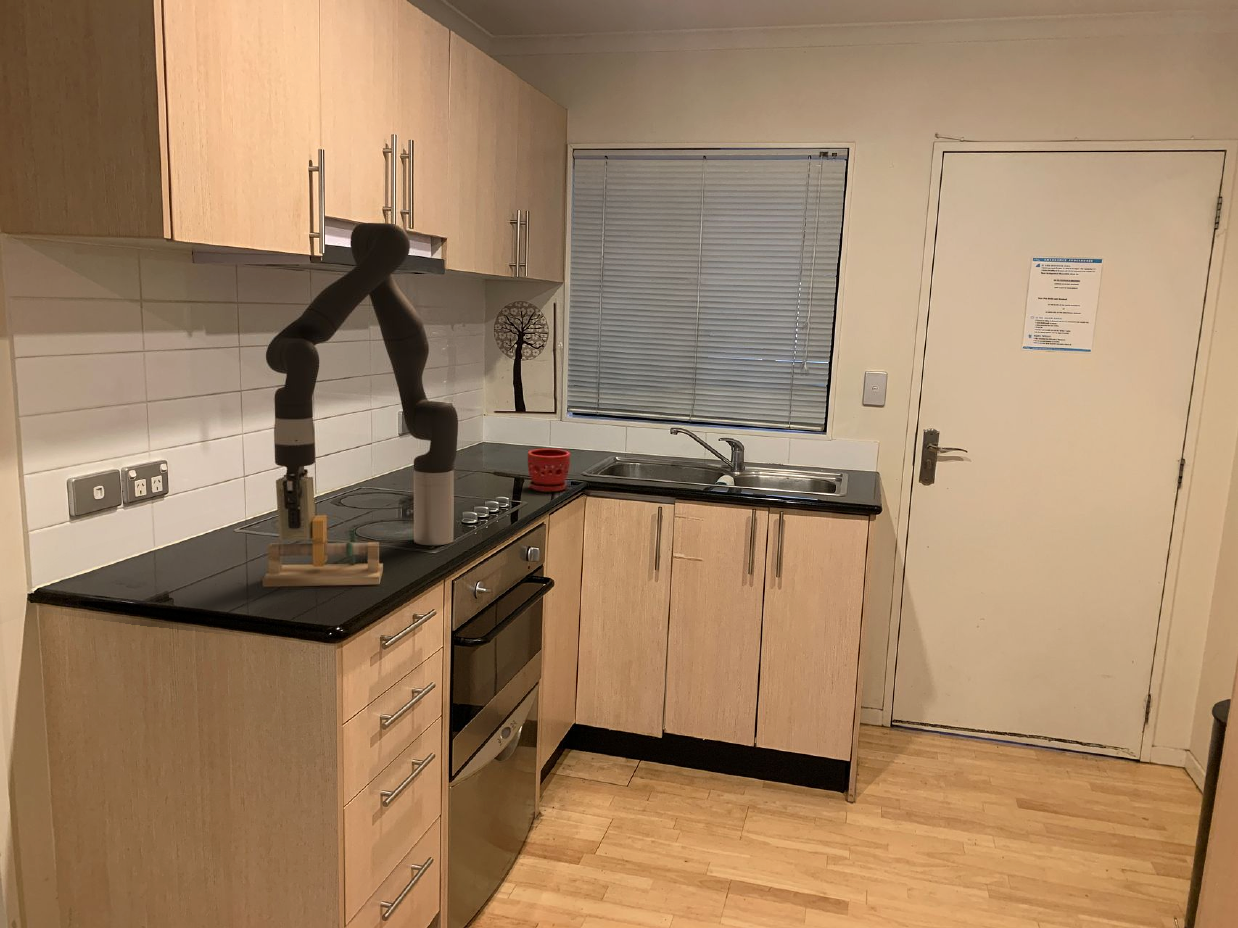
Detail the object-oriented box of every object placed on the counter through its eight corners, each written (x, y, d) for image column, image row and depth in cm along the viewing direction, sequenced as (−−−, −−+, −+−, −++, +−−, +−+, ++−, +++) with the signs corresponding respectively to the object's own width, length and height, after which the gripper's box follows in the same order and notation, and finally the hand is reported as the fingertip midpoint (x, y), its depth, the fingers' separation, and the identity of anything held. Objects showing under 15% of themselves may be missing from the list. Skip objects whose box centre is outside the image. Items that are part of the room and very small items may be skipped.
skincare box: (316, 535, 184) (315, 476, 182) (309, 541, 179) (308, 480, 177) (284, 535, 183) (282, 475, 181) (276, 540, 179) (275, 479, 177)
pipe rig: (272, 572, 186) (271, 529, 185) (382, 570, 190) (382, 528, 189) (262, 586, 177) (261, 541, 175) (379, 584, 181) (378, 540, 179)
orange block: (317, 559, 185) (316, 514, 184) (327, 559, 186) (326, 514, 184) (313, 566, 180) (312, 521, 178) (323, 566, 180) (322, 520, 179)
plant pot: (519, 487, 284) (519, 450, 282) (554, 484, 292) (555, 447, 290) (541, 495, 274) (542, 456, 272) (577, 491, 282) (578, 453, 280)
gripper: (308, 446, 172) (310, 533, 175) (319, 435, 186) (321, 516, 188) (267, 445, 170) (269, 534, 173) (281, 435, 184) (283, 517, 187)
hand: (296, 524), depth 181 cm, fingers closed on skincare box, 4 cm apart
